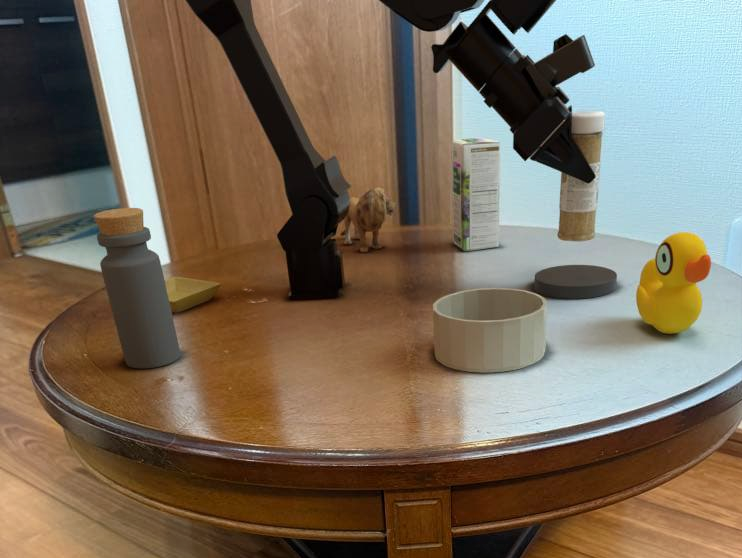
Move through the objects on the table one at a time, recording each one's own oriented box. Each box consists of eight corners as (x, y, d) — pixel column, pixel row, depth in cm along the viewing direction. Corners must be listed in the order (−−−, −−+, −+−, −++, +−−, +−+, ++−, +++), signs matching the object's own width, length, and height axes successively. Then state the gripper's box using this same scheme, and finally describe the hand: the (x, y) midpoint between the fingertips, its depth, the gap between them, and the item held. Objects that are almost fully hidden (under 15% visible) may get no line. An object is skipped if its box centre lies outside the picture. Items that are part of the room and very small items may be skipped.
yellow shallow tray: (225, 298, 105) (222, 282, 104) (176, 317, 99) (173, 300, 98) (178, 291, 109) (175, 276, 108) (129, 309, 103) (125, 293, 102)
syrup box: (452, 244, 123) (449, 139, 115) (488, 239, 124) (488, 135, 116) (463, 252, 119) (461, 143, 111) (501, 247, 120) (501, 139, 112)
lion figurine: (403, 250, 122) (399, 186, 117) (373, 256, 119) (368, 192, 115) (354, 235, 132) (349, 177, 128) (326, 241, 130) (319, 181, 125)
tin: (435, 375, 78) (433, 324, 75) (434, 337, 87) (432, 291, 84) (551, 369, 77) (553, 318, 74) (538, 332, 86) (539, 285, 84)
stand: (539, 300, 96) (539, 288, 95) (530, 278, 104) (530, 266, 103) (623, 296, 95) (624, 283, 95) (607, 274, 104) (608, 262, 103)
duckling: (721, 345, 80) (737, 240, 74) (670, 351, 79) (683, 246, 74) (667, 312, 89) (679, 218, 84) (622, 318, 88) (630, 223, 83)
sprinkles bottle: (561, 233, 98) (568, 110, 91) (598, 234, 97) (608, 109, 90) (553, 242, 95) (559, 114, 88) (591, 243, 93) (601, 113, 86)
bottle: (152, 372, 83) (115, 219, 75) (114, 364, 86) (74, 216, 78) (192, 354, 87) (161, 207, 79) (154, 347, 90) (121, 205, 82)
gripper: (550, 4, 76) (656, 129, 80) (553, 6, 92) (642, 111, 96) (469, 101, 82) (572, 213, 86) (484, 88, 97) (571, 183, 101)
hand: (592, 176), depth 92 cm, fingers closed on sprinkles bottle, 4 cm apart
